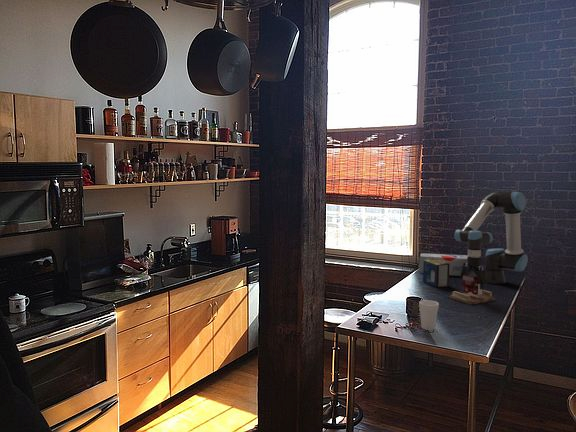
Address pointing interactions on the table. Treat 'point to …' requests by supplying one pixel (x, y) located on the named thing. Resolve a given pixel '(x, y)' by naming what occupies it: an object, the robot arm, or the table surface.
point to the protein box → (436, 273)
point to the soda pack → (453, 260)
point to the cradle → (472, 297)
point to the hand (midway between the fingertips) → (472, 291)
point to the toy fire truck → (470, 284)
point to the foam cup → (428, 314)
